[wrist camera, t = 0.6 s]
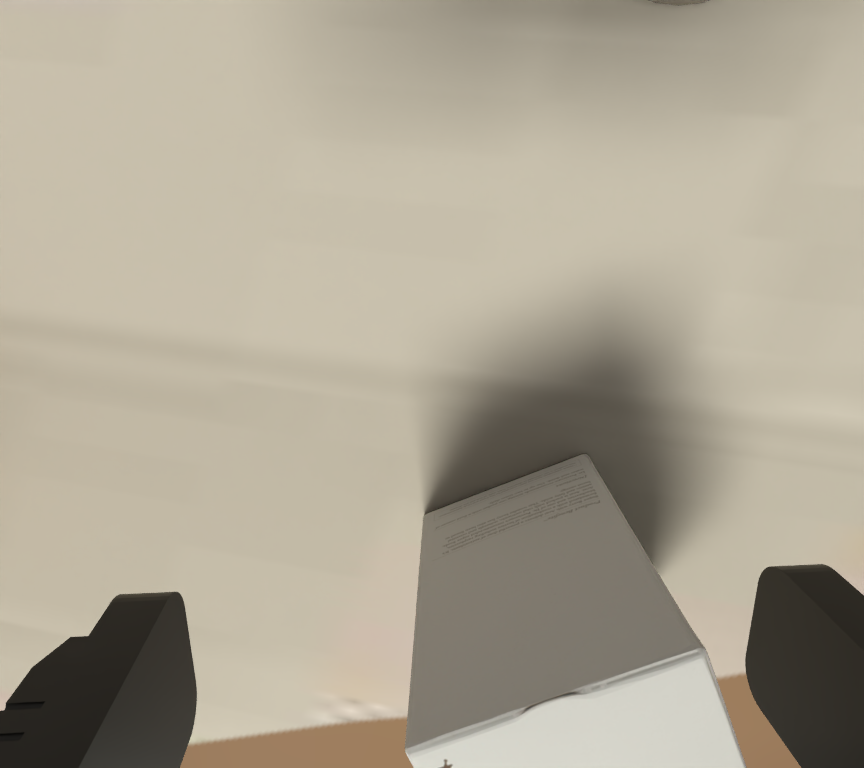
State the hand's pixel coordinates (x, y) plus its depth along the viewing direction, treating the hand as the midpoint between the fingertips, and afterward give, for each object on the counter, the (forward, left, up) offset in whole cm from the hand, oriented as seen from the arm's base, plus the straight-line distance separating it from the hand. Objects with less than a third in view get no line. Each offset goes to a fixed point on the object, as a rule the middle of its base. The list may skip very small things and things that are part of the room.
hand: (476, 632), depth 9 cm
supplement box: (+10, +6, -22) cm, 25 cm away
